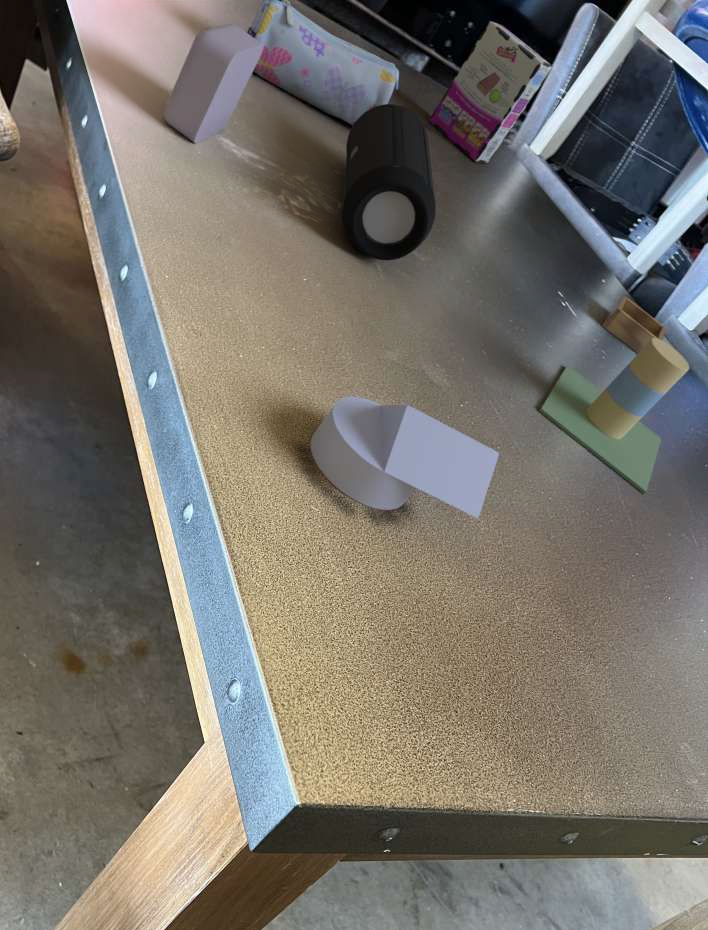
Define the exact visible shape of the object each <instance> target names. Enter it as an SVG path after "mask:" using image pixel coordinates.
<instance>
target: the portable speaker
mask: <svg viewBox="0 0 708 930" xmlns="http://www.w3.org/2000/svg"><path fill="white" fill-rule="evenodd" d="M345 146H346V157H345V171H344V189H343V202H342V210H341V221H342V226H343V229H344V232H345V234H346V236H347V238H348V240H349V241H350V242H351V243H352V245H353V246H354V248H355V249H356V250H357V251H359V252H360V253H362V254H364V255H366V256H368V257H370V258H373V259H375V260H381V261H394V260H398V259H401V258H404V257H406V256H408V255H410V254H411V253H412V252H413V251H415V250H416V249H417V248H419V246H421V245H422V244H423V243H424V242H425V240H426V239H427V238H428V236H429V234H430V233H431V230H432V228H433V226H434V222H435V219H436V210H437V209H436V206H437V205H436V196H435V195H436V194H435V188H434V180H433V179H434V178H433V169H432V163H431V155H430V144H429V138H428V133H427V131H426V128H425V126H424V123H423V122H422V121H421V119H420V118H419V116H418V115H417V114H416V113H415V112H413V111H412V109H409V108H407V107H405V106H403V105H398V104H391V103H388V104H385V105H380V106H376V107H374V108H372V109H370V110H368V111H366V112H365V113H364V114H363V115H361V116H360V117H359V118H358V119H357V121H356V122H355V123H354V125H353V126H352V127H351V128H350V130H349V133H348V136H347V141H346V145H345Z"/></svg>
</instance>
